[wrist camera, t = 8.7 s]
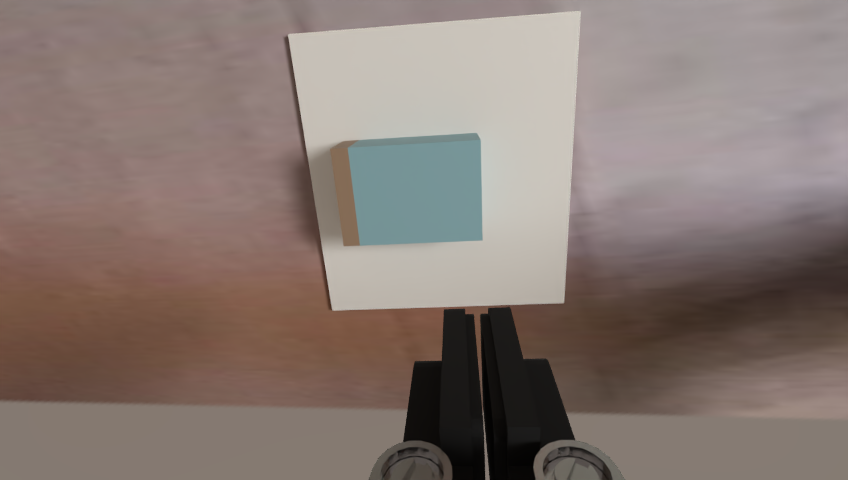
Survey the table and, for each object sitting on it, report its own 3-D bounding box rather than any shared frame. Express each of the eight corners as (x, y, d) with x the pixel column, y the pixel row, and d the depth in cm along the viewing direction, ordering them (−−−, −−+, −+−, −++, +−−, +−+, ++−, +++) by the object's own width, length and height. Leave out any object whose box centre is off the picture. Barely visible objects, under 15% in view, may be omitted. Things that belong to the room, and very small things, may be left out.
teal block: (480, 139, 27) (329, 148, 28) (482, 240, 30) (343, 246, 31) (476, 132, 31) (343, 140, 32) (478, 222, 34) (355, 228, 34)
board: (578, 11, 28) (580, 10, 28) (562, 300, 36) (564, 303, 36) (289, 34, 30) (287, 34, 29) (333, 308, 38) (332, 310, 37)
